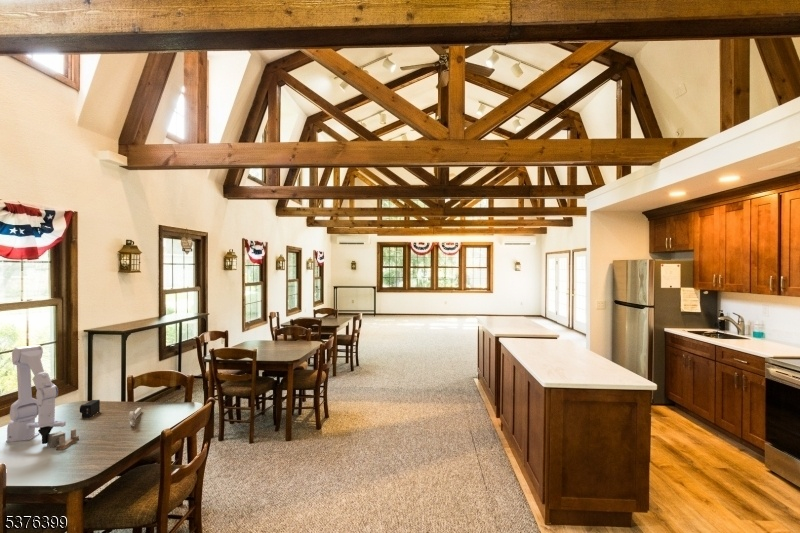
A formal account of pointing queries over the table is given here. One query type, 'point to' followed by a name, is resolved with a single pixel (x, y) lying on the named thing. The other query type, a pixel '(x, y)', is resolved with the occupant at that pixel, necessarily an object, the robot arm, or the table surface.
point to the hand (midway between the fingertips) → (45, 443)
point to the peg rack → (69, 441)
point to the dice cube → (54, 438)
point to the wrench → (134, 416)
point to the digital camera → (90, 408)
